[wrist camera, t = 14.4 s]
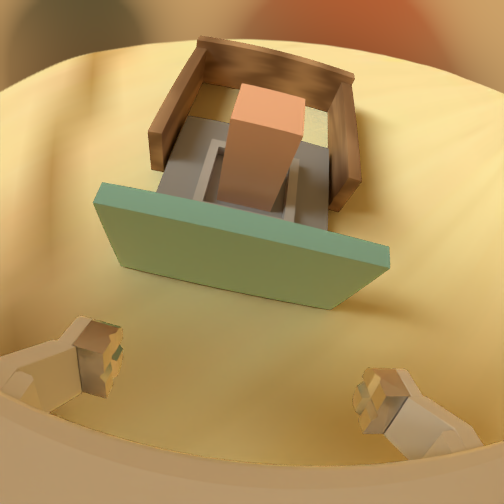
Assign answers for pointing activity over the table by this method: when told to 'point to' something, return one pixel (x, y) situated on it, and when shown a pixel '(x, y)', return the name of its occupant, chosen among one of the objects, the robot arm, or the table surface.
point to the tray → (239, 228)
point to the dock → (274, 78)
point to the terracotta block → (260, 146)
